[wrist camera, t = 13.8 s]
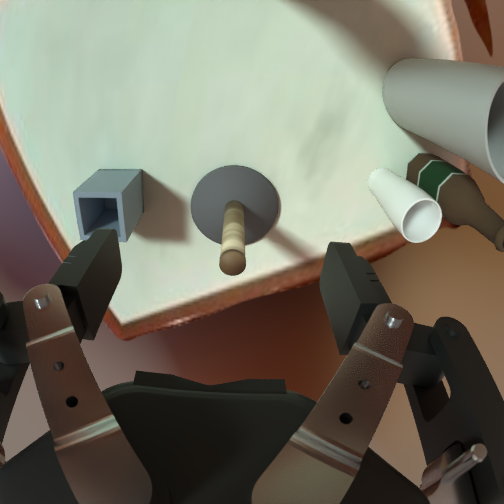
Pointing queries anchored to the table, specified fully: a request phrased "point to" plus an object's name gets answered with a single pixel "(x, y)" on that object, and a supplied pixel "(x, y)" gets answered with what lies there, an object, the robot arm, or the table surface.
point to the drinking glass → (405, 205)
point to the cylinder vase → (451, 107)
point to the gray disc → (240, 189)
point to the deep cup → (110, 202)
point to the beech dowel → (233, 240)
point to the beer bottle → (456, 196)
